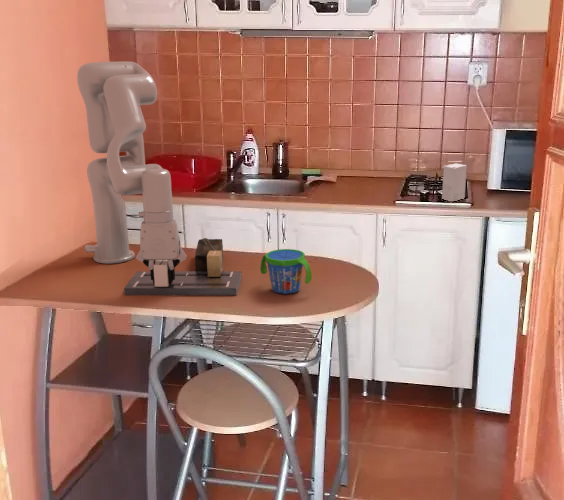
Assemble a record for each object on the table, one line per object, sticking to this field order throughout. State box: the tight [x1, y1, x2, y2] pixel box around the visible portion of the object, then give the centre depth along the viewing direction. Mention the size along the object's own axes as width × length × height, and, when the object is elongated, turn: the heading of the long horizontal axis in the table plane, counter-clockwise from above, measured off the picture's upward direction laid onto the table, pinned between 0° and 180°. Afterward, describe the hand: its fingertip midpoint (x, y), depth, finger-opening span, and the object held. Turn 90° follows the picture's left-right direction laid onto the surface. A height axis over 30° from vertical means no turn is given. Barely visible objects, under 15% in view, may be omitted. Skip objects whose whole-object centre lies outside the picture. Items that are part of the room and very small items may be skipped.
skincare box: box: [441, 162, 468, 202], centre depth 283 cm, size 8×6×15 cm
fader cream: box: [153, 260, 169, 287], centre depth 183 cm, size 4×5×6 cm
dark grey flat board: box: [123, 270, 242, 296], centre depth 188 cm, size 30×14×2 cm, turn 88°
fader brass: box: [207, 251, 223, 277], centre depth 191 cm, size 4×5×6 cm
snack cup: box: [260, 248, 313, 295], centre depth 183 cm, size 16×10×10 cm
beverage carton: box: [194, 237, 224, 271], centre depth 205 cm, size 8×19×7 cm, turn 3°
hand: (163, 281), depth 184 cm, fingers closed on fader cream, 3 cm apart
